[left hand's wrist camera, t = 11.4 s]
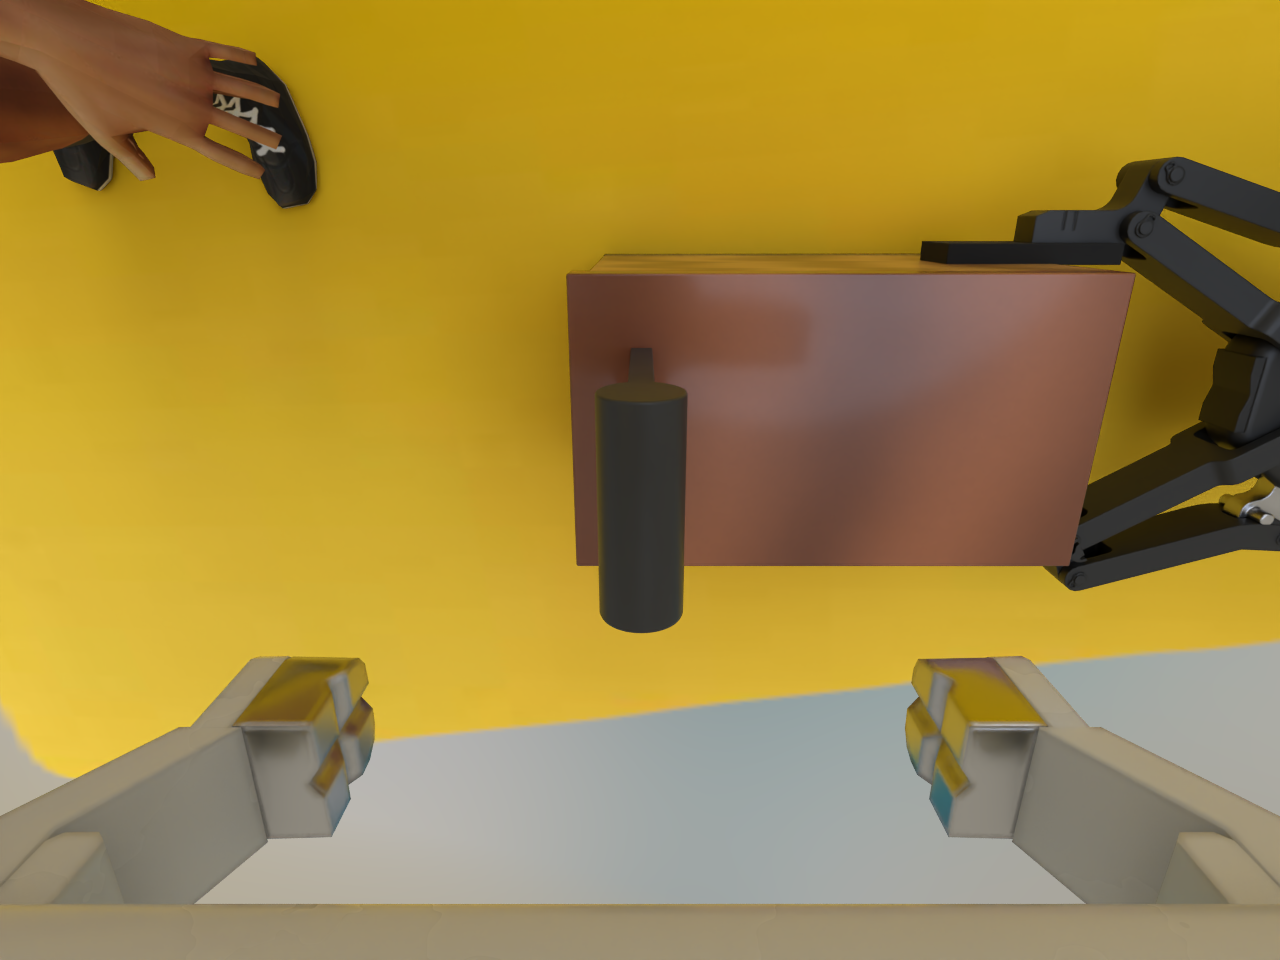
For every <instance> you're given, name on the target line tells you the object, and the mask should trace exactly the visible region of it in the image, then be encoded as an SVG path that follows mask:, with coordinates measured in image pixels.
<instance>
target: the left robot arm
mask: <svg viewBox="0 0 1280 960" xmlns="http://www.w3.org/2000/svg"><path fill="white" fill-rule="evenodd" d="M368 683H369V682H368V677H367V672H366V667H365V663H364V662H363V661H361V660H360V659H359V658H332V657H288V656H281V657H257V658H254V659H251V660H250V661H249V662H248V663H247V664H246V665H245V666H244V667H243V669H242V670H241V671H240V672H239V673H238V674H237V675H236V676H235V678H234V679H233V680H232V681H231V682H230V683H229V684H228V685H227V687H226V688H225V689H224V690H223V691H222V692H221V693H220V694H219V696H218V697H217V698H216V699H215V700H214V701H213V702H212V703H211V704H210V706H209V707H208V708H207V709H206V710H205V711H204V712H203V713H202V715H201V716H200V717H199V718H198V719H197V720H196V721H195V722H194V724H193V725H192V726H191V727H179V728H177V729H175V730H173V731H171V732H169V733H167V734H165V735H163V736H161V737H158V738H156V739H154V740H152V741H150V742H148V743H146V744H144V745H142V746H140V747H138V748H136V749H134V750H132V751H130V752H128V753H126V754H124V755H122V756H120V757H118V758H116V759H114V760H112V761H110V762H108V763H106V764H104V765H102V766H100V767H98V768H96V769H94V770H92V771H90V772H88V773H86V774H84V775H82V776H80V777H78V778H76V779H74V780H72V781H70V782H68V783H66V784H64V785H62V786H60V787H58V788H56V789H54V790H52V791H50V792H48V793H46V794H44V795H42V796H40V797H38V798H36V799H34V800H32V801H30V802H28V803H26V804H24V805H22V806H20V807H18V808H16V809H14V810H12V811H10V812H8V813H6V814H4V815H2V816H0V960H1280V816H1278V815H1276V814H1274V813H1272V812H1270V811H1268V810H1266V809H1264V808H1262V807H1260V806H1258V805H1256V804H1254V803H1252V802H1250V801H1248V800H1246V799H1244V798H1242V797H1240V796H1238V795H1236V794H1234V793H1232V792H1230V791H1228V790H1226V789H1224V788H1222V787H1220V786H1218V785H1216V784H1214V783H1212V782H1210V781H1208V780H1206V779H1204V778H1202V777H1200V776H1198V775H1196V774H1194V773H1192V772H1190V771H1188V770H1186V769H1184V768H1182V767H1180V766H1177V765H1175V764H1174V763H1172V762H1170V761H1168V760H1165V759H1163V758H1161V757H1159V756H1158V755H1156V754H1154V753H1151V752H1149V751H1148V750H1145V749H1144V748H1142V747H1139V746H1137V745H1135V744H1133V743H1131V742H1129V741H1127V740H1125V739H1123V738H1121V737H1119V736H1117V735H1115V734H1113V733H1111V732H1109V731H1107V730H1105V729H1103V728H1101V727H1089V726H1088V725H1087V724H1086V723H1085V721H1084V720H1083V719H1082V718H1081V717H1080V716H1079V715H1078V714H1077V712H1076V711H1075V710H1074V709H1073V708H1072V707H1071V706H1070V705H1069V703H1068V702H1067V701H1066V700H1065V699H1064V698H1063V697H1062V696H1061V694H1060V693H1059V692H1058V691H1057V690H1056V689H1055V688H1054V687H1053V685H1052V684H1051V683H1050V682H1049V681H1048V680H1047V679H1046V678H1045V676H1044V675H1043V674H1042V673H1041V672H1040V671H1039V670H1038V669H1037V667H1036V666H1035V665H1034V664H1033V663H1032V662H1031V661H1030V660H1029V659H1027V658H1024V657H1022V656H1008V657H987V658H949V659H918V661H917V663H916V665H915V667H914V670H913V676H912V682H911V683H912V685H913V687H914V688H915V690H916V692H917V694H918V696H919V697H918V698H917V699H916V700H915V701H914V702H913V703H912V704H911V705H910V706H909V707H908V709H907V716H906V724H905V732H906V743H907V749H908V753H909V756H910V760H911V762H912V764H913V767H914V769H915V771H916V773H917V775H918V776H920V777H921V778H923V779H924V780H926V781H927V782H928V783H930V784H931V785H932V786H931V792H930V798H929V799H930V801H931V803H932V805H933V807H934V809H935V811H936V813H937V815H938V817H939V819H940V821H941V823H942V825H943V827H944V829H945V831H946V833H947V835H948V837H966V838H1001V839H1013V840H1012V842H1013V843H1014V844H1015V845H1017V846H1018V847H1019V848H1020V849H1021V850H1023V851H1024V852H1025V853H1026V854H1027V855H1029V856H1030V857H1031V858H1032V859H1033V860H1034V861H1036V862H1037V863H1038V864H1039V865H1040V866H1042V867H1043V868H1044V869H1045V870H1046V871H1048V872H1049V873H1050V874H1051V875H1052V876H1054V877H1055V878H1056V879H1057V880H1058V881H1060V882H1061V883H1062V884H1063V885H1064V886H1066V887H1067V888H1068V889H1069V890H1070V891H1071V892H1073V893H1074V894H1075V895H1076V896H1077V897H1079V898H1080V899H1081V900H1082V901H1083V902H1085V903H1086V904H194V903H196V902H197V901H198V900H199V899H200V898H202V897H203V896H204V895H205V894H206V893H208V892H209V891H210V890H211V889H212V888H213V887H215V886H216V885H217V884H218V883H220V882H221V881H222V880H223V879H224V878H225V877H227V876H228V875H229V874H230V873H231V872H233V871H234V870H235V869H236V868H237V867H239V866H240V865H241V864H242V863H243V862H245V861H246V860H247V859H248V858H249V857H251V856H252V855H253V854H254V853H255V852H257V851H258V850H259V849H260V848H261V847H263V846H264V845H265V844H266V843H267V842H268V841H267V839H278V838H313V837H332V835H333V833H334V831H335V829H336V827H337V825H338V823H339V821H340V819H341V817H342V815H343V813H344V811H345V809H346V807H347V805H348V803H349V801H350V799H351V798H350V792H349V786H348V785H349V784H350V783H352V782H353V781H354V780H356V779H357V778H359V777H360V776H361V775H363V773H364V771H365V768H366V767H367V764H368V762H369V760H370V757H371V752H372V747H373V743H374V731H375V722H374V715H373V708H372V707H371V706H370V705H369V704H368V703H367V702H366V701H365V700H364V699H363V698H362V697H361V696H362V694H363V692H364V690H365V689H366V687H367V685H368Z"/></svg>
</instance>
